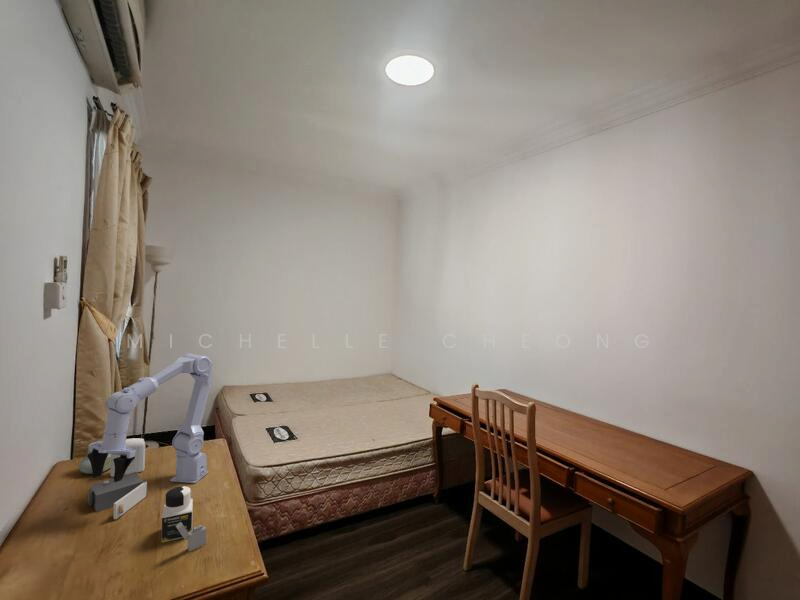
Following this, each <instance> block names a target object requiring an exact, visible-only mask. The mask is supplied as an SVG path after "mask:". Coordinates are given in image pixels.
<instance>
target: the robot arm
mask: <svg viewBox="0 0 800 600" xmlns="http://www.w3.org/2000/svg"><path fill="white" fill-rule="evenodd" d="M213 365H214V363H213V361H212V360H211V358H209V356H207V355H199V354H193V353H190V352H189V353H185V354H184V355H182V356H180V357H178V358H177V359H176V360H175V361H174V362H173V363H171V364H170V365H168V366H167V367H165V368H163V369H162V370H160V371H159V372H158V373H156V374H155V375H153V376H152V377H150V376H149V377H148V376H145V377H139V378H138V379H137V382H134V383H133V384H131V385H129V386H128V387H126V386H125V387H124V388H122V391H116V392H113V393H112V394H111V395H110V396H109V397H108V399H107V400H105V407H106V408H107V409H108V410H107V411H108V412H107V417H106V422H105V427H104V430H103V431H104V433H103V436H102V441H103V442H102V443H94V444H91V443H90V444H91V445H90V450H89V451H93V452H92V453H89V454H88V453H87V455H86V456H87V457H88V458H89V460H90V463H91V467H92V474H91V475H92V478H97V477H100V476H102V474H103V472H102V471H103V467H104V463H105V460H106V458H107V456H108V454H114V455H120V457H118V458H115V459H113V461H114V465H115V473H114V477H113V478H114V482H118V481H120V480H122V478H123V476H124V474H125V472H126V470H127V468H128V466H129V465H130V463H131V462H132V461H133V460H134V458H135V453H136V450H133V449H131V448H129V447H126V446H125V442H126V439H127V437H128V436H127V434H128V430H129V423H130V418H131V411H134V409H135V408H136V407H137V405H138V403H140V402H141V401H143V400H145V399H146V398H148V397H150V396H151V395H152V394H153V393H154V394H155V393H156V392H157V390H158V387H159V386H160V385H162V384H164V383H165V382H167V381H169V380H171V379H173V378H175V377H176V376H178V375H180V374H189V376H191V377H192V378H193V380H194V385H193V389H192V392H191V396H190V400H189V404H188V408H187V411H186V414H185V418H184V422H183V424H182V425H181V426H180V427H179V428H178V429H177V432H176V434H175V436H173V439H172V442H171V446H172V447H173V449H175V475H174V476H173V477H172V478H171V479H169V482H172V483H173V482H175V483H187V484H196V483H197V482H198V481H200V480H201V479H202V478H203V477H205V476H206V475H207V474H208V473H209V472H208V456H207V454H206V453H204V452H201V450H202V449H203V447H204V443H205V442H204V441H205V440H204V435H205V432H204V430H203V427H201V426H202V421H203V417H204V414H205V409H206V406H207V401H208V398H209V396H210V395H209V394H210V390H211V386H212V383H213V378H214V375H213Z"/></svg>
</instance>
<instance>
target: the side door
mask: <svg viewBox="0 0 800 600" xmlns="http://www.w3.org/2000/svg"><path fill="white" fill-rule="evenodd" d="M147 496H148V481H146V480H145V481H143V483H142V484H141V485H139V486H138V487H136V488H135V489H134V490H132V491H131V492H129V493H128V494H126V495H125V496H124V497H122V498H121V499H119V500H118V501H117V502H115V503H114V506H113V520H117V519H119V517H121V516H122V515H124V514H125V513H126V512H127V511H129V510H131V508H133V507H134V506H135V505H137V504H138V503H140V501H142V500H143V499H144V498H146V497H147Z"/></svg>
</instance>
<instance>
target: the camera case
mask: <svg viewBox="0 0 800 600" xmlns="http://www.w3.org/2000/svg"><path fill="white" fill-rule="evenodd" d="M142 483H144V481H143V479H142V478H141V477H140V476H139V474H138V472H137V473H136V472H134V473H130V474H126V475H124V476H123V478H122V480H120V481H118V482H114V477H112V478H109V479H106V480H103V481H102V480H101V481H99V482H94V483H91V484H90V490H89V492H88V493H87V502H88V503H87V504H88V506H89V507H91V506H92V507H93V509H94V511H95V512H96V513H97V512H100V511H103V510H107V509H109V508H112V507H113V508H114V503H115V502H117V501H118V500H119V499H121V498H122V497H124V496H125V495H126V494H128V493H129V492H131V491H132V490H134V489H135V488H136V487H138V486H139V485H141V484H142Z"/></svg>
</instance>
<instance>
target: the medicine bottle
mask: <svg viewBox="0 0 800 600" xmlns="http://www.w3.org/2000/svg"><path fill="white" fill-rule="evenodd" d="M193 509H194V499H193V498H192V497H191V487H189V486H185V485H183V486H182V485H181V486H177V487H172V488H171V489H169V490H168V491H167V492H166V493H165V503H164V505H163V510H162V515H161V543H166V542H170V541H176V540H179V539H184V538H183V536H182V535H181V533H180V532H179V530H178V529H177V527H176V525H177V524H178V523H180V522H181V523H182V524H183V526H184V527H185V529H186V530H187V532H190V531H193V517H194V515H193Z"/></svg>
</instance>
